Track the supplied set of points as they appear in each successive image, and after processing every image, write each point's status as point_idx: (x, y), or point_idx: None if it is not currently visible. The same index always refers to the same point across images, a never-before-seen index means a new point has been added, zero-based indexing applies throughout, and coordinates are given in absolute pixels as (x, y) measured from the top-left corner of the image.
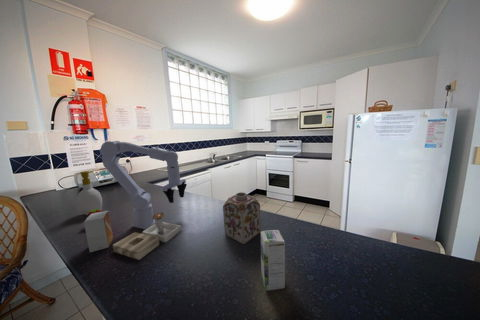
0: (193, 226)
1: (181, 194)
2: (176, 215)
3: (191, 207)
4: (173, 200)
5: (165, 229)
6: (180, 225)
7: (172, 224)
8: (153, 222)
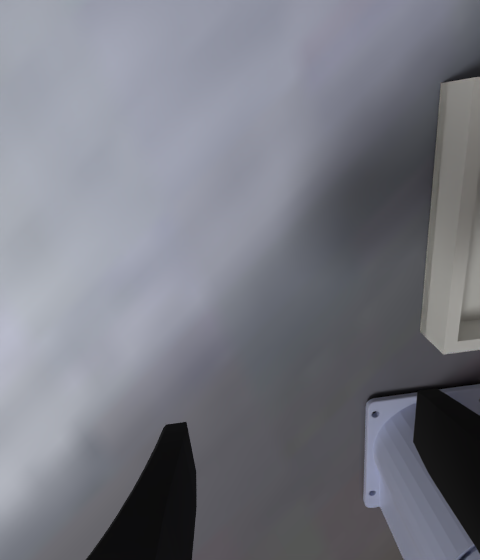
0: (343, 9)
1: (184, 487)
2: (229, 355)
3: (31, 356)
4: (443, 407)
5: (477, 230)
6: (476, 80)
7: (472, 187)
8: (408, 407)
